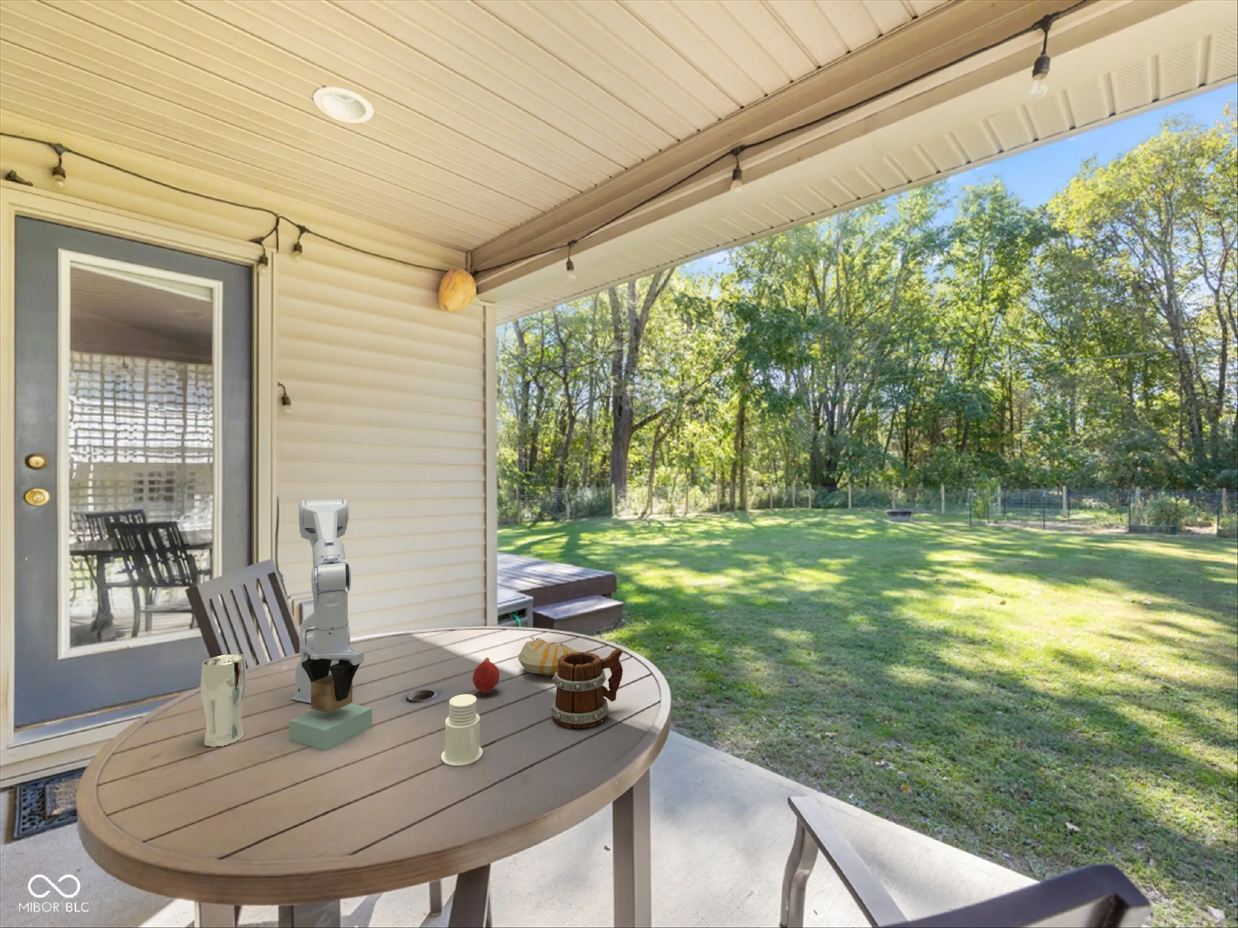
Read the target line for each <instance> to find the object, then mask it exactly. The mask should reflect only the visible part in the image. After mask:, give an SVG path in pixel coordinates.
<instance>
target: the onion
mask: <svg viewBox="0 0 1238 928" xmlns="http://www.w3.org/2000/svg"><path fill="white" fill-rule="evenodd" d="M490 660H491V658H489V657H484V659H483V661H482V662H481V663H480V664H479V665H477V666H476V668H475V670H474V672H473V674H472V683H473V685H474V688H475V689H476V690H478V691H479V692H481V693H483V694H484V695H487V694H489V693H490V692H491V691H492V690H494V689H495V688H496V687H497V685H498V684H499V681H500V671H499V668H498V667H497V666H496V664H494V663H493V662H491V661H490Z"/></svg>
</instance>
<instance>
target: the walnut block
mask: <svg viewBox="0 0 1238 928" xmlns="http://www.w3.org/2000/svg"><path fill="white" fill-rule="evenodd" d="M350 703H352V704H353V682H352V683H351V686H350V690H349V694H348V698H346V699H344V700H342V701H336V697H335V685H334V680H333V676H332V674H331V675H328V676H326V677H323V678H321V679H318V680H316V681H313V682H311V703H310V709H311V710H318V711H323V712H328V713H331V712H334V711H336V710H338V709H340V708H342V707H344V706H346V705H348V704H350Z"/></svg>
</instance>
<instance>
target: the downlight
mask: <svg viewBox="0 0 1238 928" xmlns="http://www.w3.org/2000/svg"><path fill="white" fill-rule="evenodd" d="M477 700H478V699H477V697H476V696H475V695H473V694H470V693H469V694H468V693H466V694H465V693H464V694H458V695H456V696H453V697H451V698H450V699H449V704H448V705H449V707H448V712H449V713H448V716H447V718H445V721H444V726H445V727H444V728H445V729H444V731H445V732H444V751H442V752H441V756H440V759H441V761H442V763H443V764H446V765H447V766H451V767H462V766H467V765H470V764H473V763H475V762H478V761H479V760H480V759H481V757H482V756H483V748H482V747H481V746H480V732H481V731H480V729H481V727H480V725H481V724H480V723H481V722H480V719H481V718H480V714H478V713H477Z"/></svg>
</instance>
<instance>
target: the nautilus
mask: <svg viewBox="0 0 1238 928" xmlns="http://www.w3.org/2000/svg"><path fill="white" fill-rule="evenodd" d="M530 639H532V640H530V641H526V642H525V643H524V645H523V647H522V648H521V651H520V653H519V654H518V662H519V663H520V665H521V666H522V667H523V668H524V670H525V671H527V672H528V673H532V674H538V675H542V676H547V677H549V676H554V674H555V673H556V671H557V670H558V659H559V658H560V657H561V656H563V655H567V654H569V653H575V652H578V651H577V650H575V649H573V648H571V647H569V646H567V645H565V644H563V643H562V642H555V641H553V642H547V641H546V640H545V639H543V638H540V637H538V638H535V639H534V637H532V636H530Z"/></svg>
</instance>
